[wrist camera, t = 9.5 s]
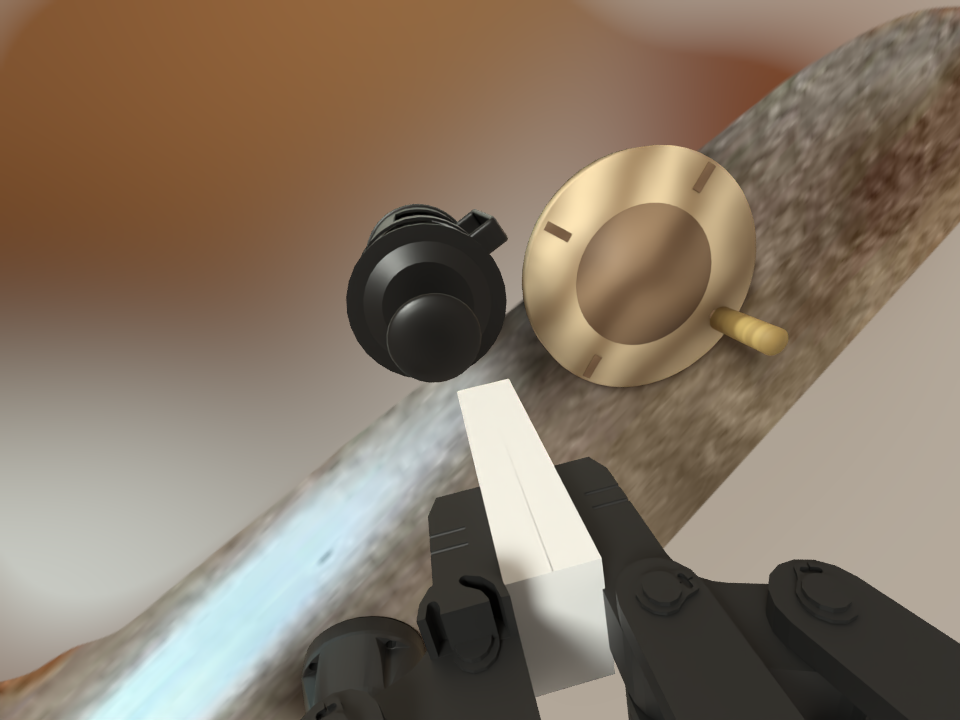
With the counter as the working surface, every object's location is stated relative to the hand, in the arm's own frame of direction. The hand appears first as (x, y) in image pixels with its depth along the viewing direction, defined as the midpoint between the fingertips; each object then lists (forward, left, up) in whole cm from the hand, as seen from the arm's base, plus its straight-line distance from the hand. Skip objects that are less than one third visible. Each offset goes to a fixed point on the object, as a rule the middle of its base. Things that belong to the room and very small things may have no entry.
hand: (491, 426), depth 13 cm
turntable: (+18, -6, -29) cm, 35 cm away
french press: (-1, 0, -31) cm, 31 cm away
